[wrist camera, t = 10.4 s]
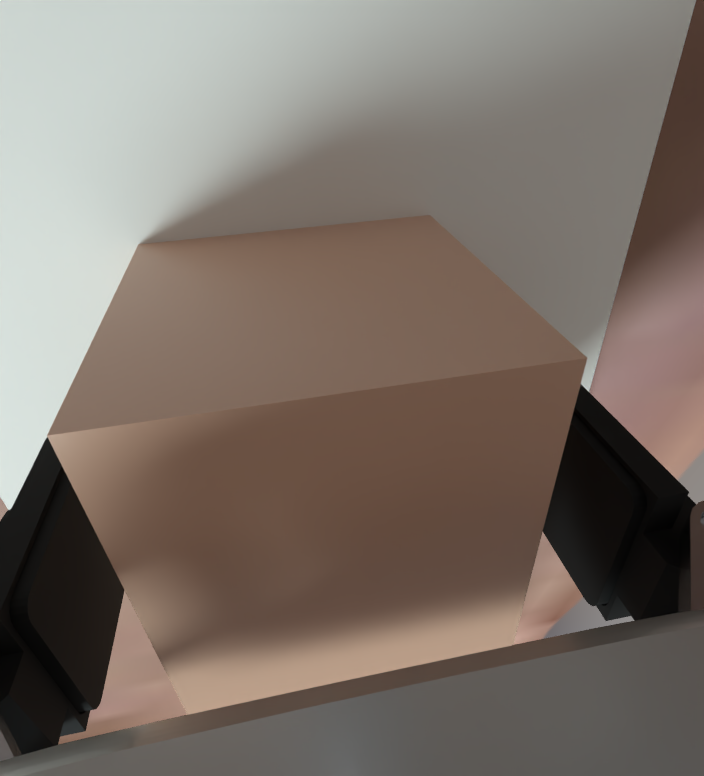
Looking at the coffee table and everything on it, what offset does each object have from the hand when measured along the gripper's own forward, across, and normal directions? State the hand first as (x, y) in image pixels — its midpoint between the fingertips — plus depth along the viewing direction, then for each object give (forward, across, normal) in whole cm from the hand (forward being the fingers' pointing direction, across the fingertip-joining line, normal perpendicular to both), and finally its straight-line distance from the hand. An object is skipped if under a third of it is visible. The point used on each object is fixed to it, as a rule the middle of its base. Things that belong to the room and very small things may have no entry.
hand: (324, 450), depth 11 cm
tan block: (+2, 0, 0) cm, 2 cm away
